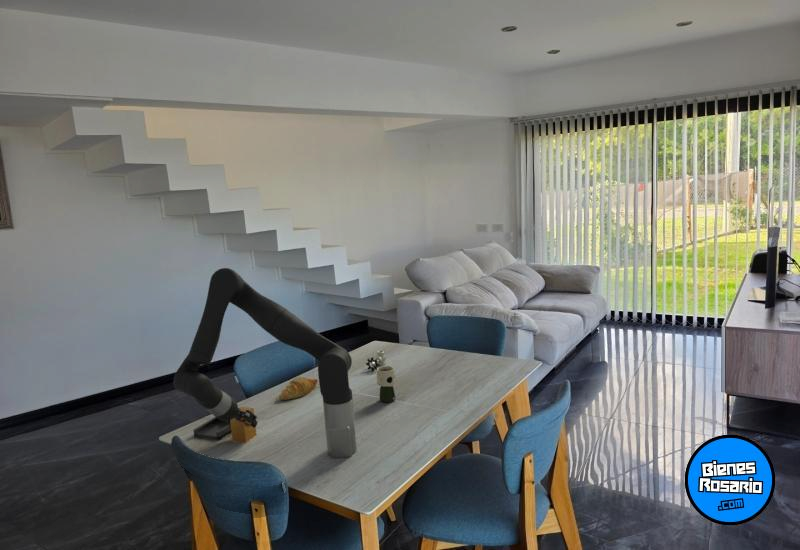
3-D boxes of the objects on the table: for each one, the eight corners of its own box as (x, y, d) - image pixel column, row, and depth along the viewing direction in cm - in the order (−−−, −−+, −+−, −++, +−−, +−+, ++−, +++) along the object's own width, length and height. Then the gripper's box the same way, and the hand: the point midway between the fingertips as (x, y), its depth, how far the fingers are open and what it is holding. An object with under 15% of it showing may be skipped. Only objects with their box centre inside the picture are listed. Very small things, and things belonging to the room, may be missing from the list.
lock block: (246, 442, 185) (242, 414, 184) (232, 441, 187) (229, 413, 186) (256, 434, 191) (254, 407, 190) (243, 433, 193) (240, 406, 191)
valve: (377, 363, 264) (366, 371, 254) (376, 349, 264) (365, 357, 253) (389, 363, 262) (379, 372, 251) (388, 350, 261) (378, 358, 250)
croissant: (285, 411, 220) (289, 396, 217) (269, 396, 224) (273, 381, 221) (321, 393, 237) (326, 378, 233) (306, 379, 241) (310, 365, 238)
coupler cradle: (219, 440, 189) (217, 420, 188) (194, 436, 192) (191, 417, 191) (246, 422, 202) (244, 403, 201) (221, 419, 206) (219, 401, 205)
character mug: (387, 406, 209) (385, 373, 207) (372, 403, 213) (369, 371, 211) (402, 397, 218) (400, 365, 216) (387, 394, 222) (385, 363, 220)
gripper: (242, 395, 177) (266, 415, 189) (207, 392, 182) (232, 411, 194) (234, 417, 173) (259, 436, 185) (197, 413, 178) (224, 432, 190)
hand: (245, 423), depth 190 cm, fingers open, 7 cm apart
